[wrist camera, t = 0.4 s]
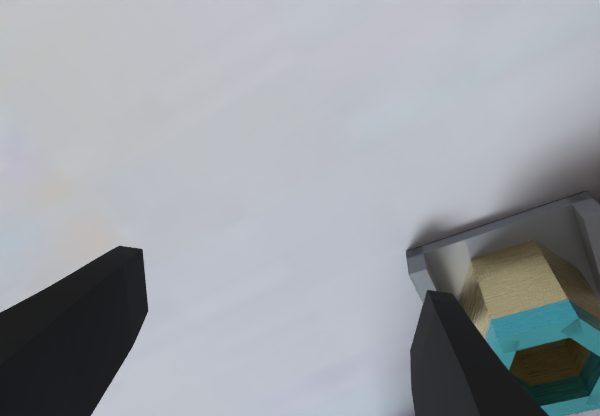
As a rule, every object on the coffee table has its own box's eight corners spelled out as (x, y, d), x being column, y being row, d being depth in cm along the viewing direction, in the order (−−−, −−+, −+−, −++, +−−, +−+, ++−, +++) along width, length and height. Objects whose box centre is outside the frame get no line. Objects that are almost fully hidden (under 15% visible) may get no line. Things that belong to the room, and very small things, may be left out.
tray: (619, 310, 23) (638, 337, 21) (454, 352, 25) (460, 379, 24) (586, 190, 20) (606, 211, 18) (405, 251, 22) (409, 274, 21)
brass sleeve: (591, 309, 22) (647, 399, 18) (473, 340, 24) (497, 428, 20) (567, 228, 20) (622, 306, 16) (440, 268, 22) (459, 348, 18)
